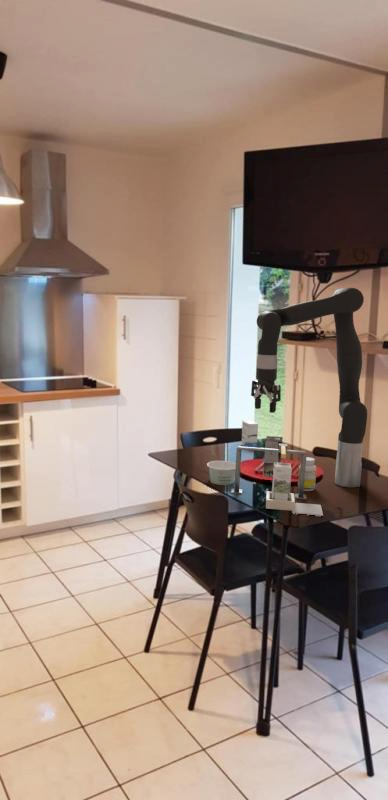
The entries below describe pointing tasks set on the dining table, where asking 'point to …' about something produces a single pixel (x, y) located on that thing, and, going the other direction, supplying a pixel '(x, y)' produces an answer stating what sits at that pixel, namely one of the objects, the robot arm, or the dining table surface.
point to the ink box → (249, 433)
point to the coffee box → (271, 455)
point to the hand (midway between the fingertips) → (264, 410)
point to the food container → (221, 472)
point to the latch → (283, 450)
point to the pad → (307, 509)
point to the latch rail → (240, 448)
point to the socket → (280, 502)
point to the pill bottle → (309, 474)
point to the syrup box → (281, 481)
